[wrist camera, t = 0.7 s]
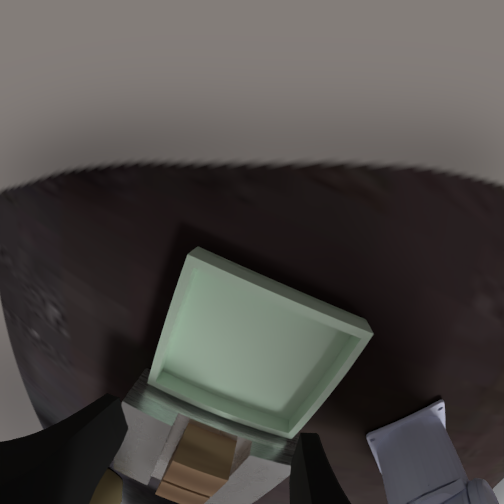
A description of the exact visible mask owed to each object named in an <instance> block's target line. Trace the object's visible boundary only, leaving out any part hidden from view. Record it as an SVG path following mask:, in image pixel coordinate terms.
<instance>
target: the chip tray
mask: <svg viewBox="0 0 504 504" xmlns="http://www.w3.org/2000/svg"><path fill="white" fill-rule="evenodd" d="M372 336H373V332H372V330H371V328H370V326H369V324H368V322H367V320H366V319H364V318H362V317H359V316H357V315H354V314H352V313H350V312H347V311H345V310H342V309H340V308H338V307H335V306H333V305H331V304H328V303H326V302H324V301H321V300H319V299H317V298H314V297H312V296H310V295H307V294H305V293H303V292H300V291H298V290H296V289H293V288H291V287H289V286H286V285H284V284H282V283H280V282H277V281H275V280H273V279H270V278H268V277H266V276H263V275H261V274H259V273H257V272H254V271H252V270H250V269H248V268H245V267H243V266H241V265H239V264H236V263H234V262H232V261H230V260H227V259H225V258H223V257H221V256H218V255H216V254H214V253H212V252H209V251H207V250H205V249H203V248H201V247H198V246H197V247H196V248H195V249H194V250H192V251H191V252H190V253H188V254H187V257H186V260H185V263H184V266H183V269H182V272H181V275H180V277H179V280H178V283H177V286H176V289H175V292H174V295H173V298H172V301H171V305H170V308H169V311H168V314H167V317H166V320H165V323H164V327H163V330H162V333H161V336H160V340H159V343H158V346H157V350H156V353H155V357H154V360H153V364H152V367H151V371H150V374H149V378H148V382H147V383H148V384H150V385H152V386H154V387H156V388H158V389H160V390H162V391H164V392H166V393H168V394H170V395H172V396H174V397H177V398H179V399H181V400H183V401H185V402H188V403H190V404H192V405H195V406H197V407H199V408H202V409H204V410H206V411H209V412H211V413H214V414H216V415H219V416H222V417H224V418H227V419H230V420H232V421H235V422H238V423H241V424H244V425H247V426H250V427H253V428H256V429H259V430H262V431H265V432H268V433H272V434H275V435H279V436H282V437H286V438H290V439H292V438H293V437H294V436H295V435H296V434H297V433H298V432H299V430H300V429H301V428H302V427H303V426H304V425H305V424H306V423H307V421H308V420H309V419H310V418H311V417H312V416H313V415H314V413H315V412H316V411H317V410H318V409H319V407H320V406H321V405H322V404H323V403H324V401H325V400H326V399H327V398H328V396H329V395H330V394H331V393H332V391H333V390H334V389H335V388H336V386H337V385H338V384H339V382H340V381H341V380H342V378H343V377H344V376H345V374H346V373H347V372H348V370H349V369H350V368H351V366H352V365H353V363H354V362H355V361H356V359H357V358H358V356H359V355H360V354H361V352H362V351H363V349H364V348H365V346H366V345H367V343H368V342H369V340H370V339H371V337H372Z"/></svg>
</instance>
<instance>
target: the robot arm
mask: <svg viewBox="0 0 504 504" xmlns="http://www.w3.org/2000/svg"><path fill="white" fill-rule="evenodd" d="M127 431H128V425H127V422H126V419H125V416H124V412H123V409H122V406H121V402H120V399H119V397H116V396H113V395H110V394H105V395H104V396H102V397H101V398H99V399H97V400H96V401H94V402H93V403H91V404H89V405H88V406H86V407H85V408H83V409H81V410H80V411H78V412H76V413H75V414H73V415H71V416H70V417H68V418H66V419H64V420H62V421H60V422H59V423H57V424H55V425H53V426H51V427H49V428H46V429H44V430H42V431H39V432H37V433H34V434H31V435H28V436H25V437H21V438H17V439H13V440H9V441H4V442H0V504H89V503H90V501H91V498H92V496H93V494H94V491H95V489H96V487H97V485H98V483H99V481H100V480H101V478H102V476H103V475H104V473H105V472H106V470H107V468H108V467H109V465H110V464H111V462H112V460H113V459H114V457H115V455H116V454H117V452H118V450H119V449H120V447H121V445H122V443H123V440H124V438H125V436H126V433H127ZM366 439H367V441H368V444H369V446H370V448H371V451H372V453H373V455H374V458H375V460H376V463H377V465H378V467H379V470H380V472H381V473H382V477H383V482H384V487H385V492H386V497H387V502H388V504H499V503H498V500H497V498H496V496H495V494H494V492H493V490H492V488H491V487H490V485H489V484H488V483H487V482H486V481H485V480H484V479H478V478H474V479H473V480H472V481H469V480H468V478H467V475H466V473H465V471H464V468H463V466H462V464H461V461H460V459H459V457H458V455H457V453H456V450H455V448H454V446H453V444H452V442H451V440H450V438H449V436H448V433H447V431H446V429H445V403H444V401H443V400H439V401H437V402H435V403H433V404H431V405H429V406H427V407H425V408H423V409H421V410H419V411H417V412H415V413H413V414H411V415H409V416H407V417H405V418H403V419H400V420H398V421H396V422H394V423H391V424H389V425H387V426H384V427H382V428H379V429H377V430H374V431H372V432H369V433H368V434H367V435H366ZM289 484H290V504H351V503H350V501H349V500H348V498H347V496H346V495H345V493H344V491H343V490H342V488H341V486H340V484H339V482H338V480H337V478H336V476H335V474H334V472H333V470H332V468H331V466H330V464H329V462H328V459H327V457H326V454H325V452H324V449H323V446H322V444H321V441H320V437H319V435H318V434H317V433H300V436H299V439H298V442H297V445H296V448H295V451H294V454H293V457H292V460H291V470H290V482H289Z"/></svg>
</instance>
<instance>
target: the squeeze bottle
mask: <svg viewBox="0 0 504 504" xmlns="http://www.w3.org/2000/svg"><path fill="white" fill-rule="evenodd" d="M122 487H123V481H122V479H121V478H120V477H119V476H118V475H117V474H116V473H114V472H113V471H111V470H110V469H108V468H107V470H106V472H105V473H104V475H103V476H102V478H101V480H100V481H99V483H98V485H97V487H96V489H95V491H94V494H93V496H92V498H91V501H90V503H89V504H120V503H121V501H122Z"/></svg>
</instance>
